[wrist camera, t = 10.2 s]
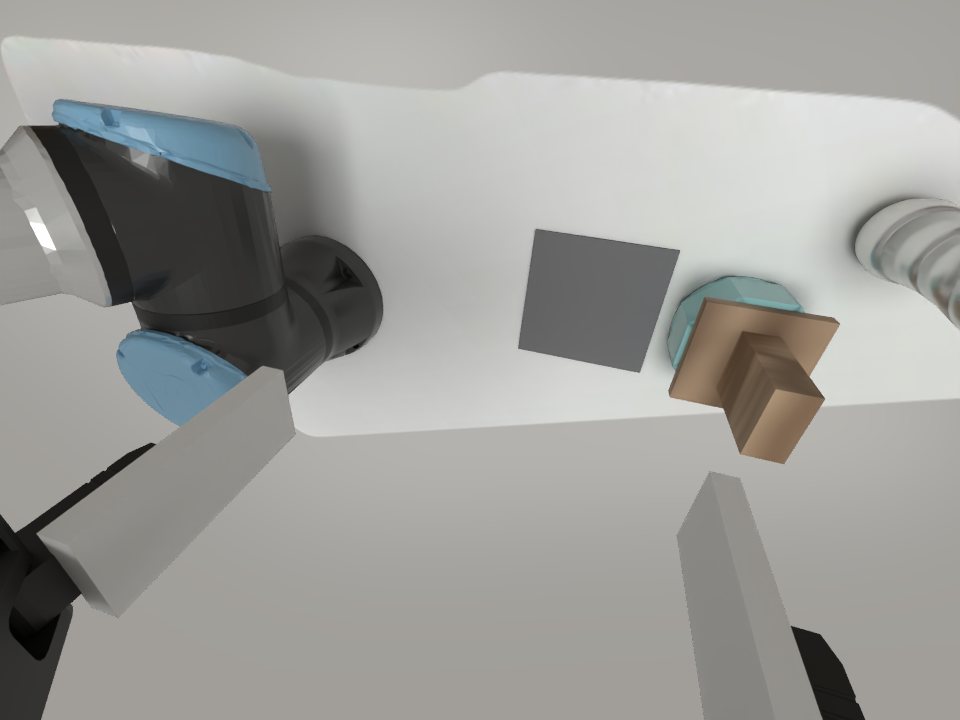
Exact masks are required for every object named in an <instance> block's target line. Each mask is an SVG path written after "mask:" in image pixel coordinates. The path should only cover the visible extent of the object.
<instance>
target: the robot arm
mask: <svg viewBox="0 0 960 720" xmlns="http://www.w3.org/2000/svg"><path fill="white" fill-rule="evenodd" d="M53 108H54V111H53V112H52V117H53V119H54V121H56V122H58V123H59V125H55V126H19V127H18V128H17V130H16V131H15V132H14V133H13V135H12V136H11V137H10V139H9V140H8V141H7V142H6V144H5V145H4V146H3V147H2V149H1V150H0V305H4V304H10V303H15V302H20V301H25V300H30V299H35V298H40V297H45V296H51V295H56V294H61V293H63V294H71V295H75V296H77V297H80V298H82V299H85V300H87V301H89V302H92V303H94V304H97V305H99V306H102V307H111V306H115V305H119V304H124V303H128V302H132V305H133V307H134V309H135V312H136V314H137V318H138V320H139V322H140V325H141V329H140V330H139V329H138V330H135V331H132V332H131V333H129V334H127V336H126V338H125V339H124V340H122V341H121V342H120V344H119V349H118V350H117V354H116V357H117V362H118V366H119V369H120V370H121V373H122V375H123V376H124V378H125V380H126V381H127V382H128V384H129V385H130V386H131V388H132V389H133V390H134V391H135V392H136V394H137V395H138V396H140V397H141V398H142V399H143V401H144V402H146V403H147V404H148V405H149V406H150V407H151V408H153V409H154V410H155V411H156V412H158V413H159V414H161V415H162V416H164V417H165V418H167V419H168V420H170V421H171V422H173V423H175V424H177V425H179V426H180V427H179V428H178V429H177V430H175V431H174V432H173V433H171V434H170V435H169V436H167V437H166V438H165V439H163V440H162V441H160V442H159V443H158V444H154V443H149V444H147V445H145V446H143V447H140V448H138V449H136V450H134V451H132V452H129V453H127V454H126V455H125V456H123V457H122V458H121V459H119V460H117V461H116V462H115V463H113V464H112V465H111V466H109V467H108V468H107V470H106V471H102V472H101V473H99V474H98V475H96V476H95V477H94V478H93V479H91V481H90V482H89V483H85V484H84V485H82V486H81V487H80V488H78V489H77V490H76V491H74V492H73V493H72V494H70V495H69V496H67V497H66V498H64V499H63V500H62V501H60V502H59V503H57V504H56V505H55V506H53V507H52V508H50V509H49V510H48V511H46V512H45V513H43V514H42V515H41V516H39V517H38V518H37V519H35V520H34V521H32V522H31V523H30V524H28V525H27V526H25V527H24V528H22V529H20V530H19V531H17V532H16V533H14V531H13V530H12V529H11V527H10V526H9V525H8V524H7V522H6V521H5V520H4V518H3V517H2V516H1V515H0V720H41V718H42V714H43V711H44V708H45V704H46V701H47V698H48V694H49V691H50V688H51V684H52V681H53V678H54V675H55V671H56V668H57V665H58V661H59V658H60V655H61V651H62V648H63V645H64V642H65V638H66V635H67V632H68V629H69V625H70V622H71V618H72V614H73V606H72V605H71V604H70V603H71V602H73V601H74V600H75V599H76V598H77V597H78V596H79V595H80V594H82V595H83V597H84V598H85V599H86V601H87V602H88V603H89V605H90V606H91V607H92V608H94V609H96V610H99V611H102V612H104V613H107V614H109V615H112V616H115V617H117V618H119V617H120V616H121V615H122V613H123V612H124V611H125V610H126V609H127V608H128V607H129V606H130V605H131V604H132V603H133V602H134V601H135V600H136V599H137V598H138V597H139V596H140V595H141V594H142V593H143V592H144V591H145V590H146V589H147V587H148V586H150V584H151V583H152V582H153V581H154V580H155V579H156V578H157V577H158V576H159V575H160V574H161V573H162V572H163V571H164V570H165V569H166V568H167V567H168V566H169V565H170V564H171V563H172V561H174V560H175V559H176V558H177V557H178V555H179V554H180V553H181V552H182V551H183V550H184V549H185V548H186V547H187V546H188V545H189V544H190V543H191V542H192V541H193V540H194V539H195V538H196V537H197V536H198V535H199V534H200V533H201V532H202V531H203V530H204V529H205V527H207V526H208V524H209V523H210V522H211V521H212V520H213V519H214V518H215V517H216V516H217V515H218V514H219V513H220V512H221V511H222V510H223V509H224V508H225V507H226V506H227V505H228V504H229V502H231V501H232V500H233V499H234V498H235V497H236V495H237V494H238V493H239V492H240V491H241V490H242V489H243V488H244V487H245V486H246V485H247V484H248V483H249V482H250V481H251V480H252V479H253V478H254V477H255V476H256V475H257V474H258V473H259V472H260V470H262V469H263V468H264V467H265V465H266V464H267V463H268V462H269V461H270V460H271V459H272V458H273V457H274V456H275V455H276V454H277V453H278V452H279V451H280V450H281V449H282V448H283V447H284V446H285V445H286V443H288V442H289V441H290V440H291V438H293V436H294V435H295V428H294V423H293V418H292V413H291V408H290V403H289V398H288V395H289V394H290V393H291V392H292V391H293V390H294V389H295V388H296V387H297V386H298V385H299V384H300V383H302V382H303V381H304V380H305V379H306V378H307V377H308V376H309V375H310V374H311V373H312V372H313V371H315V370H316V369H317V368H318V367H319V366H320V365H321V364H322V363H323V362H325V361H328V360H332V359H335V358H338V357H341V356H344V355H347V354H350V353H353V352H355V351H357V350H358V349H360V348H361V347H363V346H364V345H365V344H366V343H367V342H368V341H369V340H370V339H371V338H372V337H373V336H374V335H375V334H376V332H377V330H378V329H379V326H380V324H381V320H382V314H383V304H382V297H381V293H380V290H379V287H378V284H377V282H376V280H375V278H374V276H373V274H372V273H371V271H370V270H369V268H368V267H367V266H366V264H365V263H364V262H363V261H362V260H361V259H360V258H359V257H358V256H357V255H356V254H355V253H354V252H353V251H351V250H350V249H349V248H347V247H346V246H344V245H342V244H340V243H339V242H336V241H334V240H332V239H329V238H325V237H320V236H306V237H301V238H298V239H296V240H293V241H291V242H289V243H286V244H284V245H283V246H281V247H279V241H278V236H277V230H276V224H275V219H274V213H273V208H272V202H271V196H270V193H271V192H272V191H271V187H270V186H269V185H268V184H267V180H266V176H265V172H264V168H263V164H262V160H261V155H260V151H259V148H258V146H257V143H256V142H255V140H254V139H253V138H252V137H251V135H250V134H249V133H247V132H246V131H245V130H243V129H242V128H240V127H238V126H235V125H232V124H228V123H223V122H217V121H211V120H205V119H199V118H193V117H187V116H180V115H173V114H167V113H160V112H154V111H147V110H140V109H134V108H126V107H119V106H112V105H105V104H96V103H87V102H80V101H73V100H64V99H59V100H56V101H55V102H54V104H53ZM677 539H678V547H679V553H680V560H681V567H682V574H683V579H684V587H685V593H686V600H687V607H688V614H689V621H690V627H691V634H692V641H693V647H694V654H695V661H696V667H697V674H698V681H699V688H700V695H701V701H702V708H703V715H704V720H865V718H864V716H863V713H862V711H861V708H860V706H859V704H858V703H856V701H855V698H856V696H855V694H854V691H853V689H852V687H851V684H850V682H849V679H848V677H847V674H846V672H845V669H844V667H843V665H842V663H841V662H840V661H839V659H838V658H837V657H836V655H835V654H834V652H833V651H832V650H831V648H830V647H829V646H828V644H827V643H826V641H825V640H824V639H823V637H822V636H821V635H820V634H817V633H814V632H810V631H807V630H804V629H800V628H796V627H793V626H790V623H789V621H788V617H787V614H786V611H785V608H784V605H783V603H782V600H781V597H780V594H779V591H778V588H777V585H776V582H775V579H774V576H773V573H772V570H771V567H770V565H769V562H768V559H767V556H766V553H765V550H764V547H763V544H762V541H761V538H760V535H759V532H758V529H757V526H756V524H755V521H754V518H753V515H752V512H751V509H750V506H749V503H748V500H747V498H746V494H745V491H744V488H743V485H742V483H741V480H740V478H737V477H733V476H729V475H724V474H720V473H716V472H711V471H709V473H708V475H707V478H706V480H705V481H704V483H703V485H702V487H701V489H700V491H699V493H698V495H697V497H696V499H695V501H694V503H693V505H692V507H691V509H690V510H689V512H688V514H687V516H686V518H685V520H684V522H683V524H682V526H681V528H680V530H679V532H678V534H677Z"/></svg>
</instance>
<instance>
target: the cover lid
mask: <svg viewBox="0 0 960 720" xmlns="http://www.w3.org/2000/svg"><path fill="white" fill-rule="evenodd" d="M839 325H840V323H839V322H838V321H837V320H835V319H834V318H832V317H826V316H820V315H814V314H808V313H802V312H796V311H789V310H783V309H777V308H771V307H765V306H759V305H753V304H747V303H741V302H735V301H729V300H723V299H717V298H711V297H704V299H703V302H702V304H701V307H700V310H699V312H698V315H697V317H696V320H695V323H694V325H693V328H692V330H691V333H690V336H689V338H688V341H687V343H686V346H685V349H684V351H683V354H682V356H681V359H680V362H679V364H678V367H677V369H676V372H675V375H674V377H673V380H672V382H671V385H670V388H669V390H668V391H669V396H670V397H671V398H676V399H681V400H686V401H690V402H695V403H700V404H705V405H710V406H714V407H719V408H724V411H725V414H726V416H727V419H728V422H729V425H730V428H731V430H732V433H733V436H734V439H735V441H736V444H737V447H738V450H739V452H740V454H742V455H746V456H751V457H755V458H759V459H764V460H768V461H773V462H777V463H781V464H784V463H785V462H786V460H787V459H788V457H789V455H790V454H791V452H792V451H793V449H794V447H795V446H796V444H797V443H798V441H799V440H800V438H801V436H802V435H803V433H804V432H805V430H806V429H807V427H808V425H809V424H810V422H811V421H812V419H813V417H814V416H815V414H816V413H817V411H818V410H819V408H820V406H821V405H822V403H823V402H824V400H825V398H824V397H823V395H822V394H821V392H820V391H819V390H818V388H817V387H816V385H815V384H814V383H813V381H812V380H811V379H810V377H809V376H810V375H811V373H812V371H813V369H814V368H815V366H816V364H817V363H818V361H819V359H820V358H821V356H822V354H823V352H824V351H825V349H826V347H827V346H828V344H829V342H830V340H831V339H832V337H833V335H834V334H835V332H836V330H837V329H838V327H839Z"/></svg>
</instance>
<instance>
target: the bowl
mask: <svg viewBox="0 0 960 720" xmlns="http://www.w3.org/2000/svg"><path fill="white" fill-rule="evenodd" d="M704 297H711V298H717V299H723V300H729V301H735V302H741V303H747V304H753V305H759V306H765V307H771V308H777V309H783V310H789V311H796V312H802V313H805V312H804V311H803V309H802V307H801V305H800V304H799V303H798V302H797V301H796V300H795V299H794V298H793V297H792V296H791V295H790V294H789V293H788V292H787V290H786V289H785V288H784V287H783V286H782V285H777V284H771V283H769V282H766V281H764V280H761V279H757V278H752V277H727V278H724V279H719V280H716V281H713V282H710V283H708V284H706V285H704V286H702V287H700V288H699V289H697V290H696V291H694V292H693V293H692V294H690V295H689V296H688V297H687V298H686V299H685V300H684V301H683V302H681V304H680V306H679V308H678V309H677V311H676V313H675V315H674V317H673V320H672V324H671V333H670V335H669V338H668V341H667V344H668V349H669V353H670V357H671V362H672V366H673V367H674V369H675V370H676V369H677V367H678V364H679V362H680V359H681V356H682V354H683V351H684V349H685V346H686V343H687V341H688V338H689V336H690V333H691V330H692V328H693V325H694V323H695V320H696V317H697V315H698V312H699V310H700V307H701V304H702V302H703V299H704Z"/></svg>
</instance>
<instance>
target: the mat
mask: <svg viewBox="0 0 960 720" xmlns="http://www.w3.org/2000/svg"><path fill="white" fill-rule="evenodd" d="M679 253H680V250H673V249H667V248H660V247H653V246H646V245H639V244H633V243H626V242H619V241H612V240H606V239H599V238H592V237H585V236H579V235H572V234H565V233H558V232H552V231H545V230H538V229H536V230H535V237H534V244H533V251H532V258H531V265H530V272H529V278H528V285H527V292H526V299H525V306H524V313H523V320H522V327H521V333H520V340H519V347H518V349H523V350H528V351H533V352H538V353H543V354H548V355H553V356H558V357H563V358H568V359H573V360H578V361H583V362H588V363H593V364H598V365H603V366H608V367H613V368H618V369H623V370H628V371H633V372H638V373H640V370H641V367H642V364H643V361H644V358H645V355H646V352H647V349H648V346H649V343H650V340H651V337H652V334H653V331H654V328H655V325H656V322H657V319H658V316H659V313H660V310H661V307H662V304H663V301H664V298H665V295H666V292H667V289H668V286H669V283H670V280H671V277H672V274H673V271H674V268H675V265H676V262H677V259H678V256H679Z"/></svg>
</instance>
